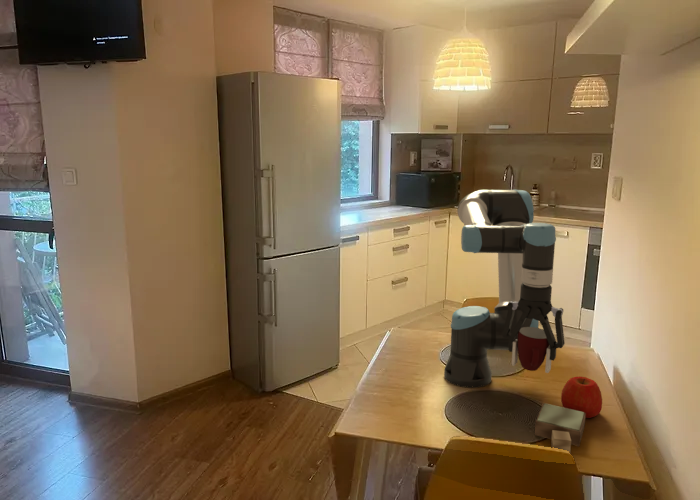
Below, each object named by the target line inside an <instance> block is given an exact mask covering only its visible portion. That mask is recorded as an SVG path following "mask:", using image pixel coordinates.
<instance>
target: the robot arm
mask: <svg viewBox="0 0 700 500" xmlns="http://www.w3.org/2000/svg"><path fill="white" fill-rule="evenodd" d="M534 211H535V210H534V202H533V198H532V196H531V194H530V193H529V192H528V191H527V190H524V189H523V190H522V189H478V190H475V191H472V192H471V193H468V194H467V195H465V196H464V197H463V198H462V199H461V200H460V202H459V204H458V206H457V215H458V216H457V217H458V219H459V220H460V222H461V223H463V227H462V228H461V236H460V241H461V243H460V244H461V245H460V246H461V250H462V251H463V252H465V253H473V254H481V253H482V254H497V261H498V263H497V267H498V268H497V269H498V270H497V271H498V273H497V274H498V303H497V305H496V306H494V310H493V311H494V312H490V310H489V309H488V308H487V307H485V306H479V305H470V306H469V305H468V306H464V307H460V308H458V309H456V310H455V311H454V312H453V313H452V315H451V323H450V328H451V330H450V331H451V332H450V334H451V335H450V353H449V356H448V359H447V362H446V364H445V367H444V374H443V376H444V377H443V378H444V379H445V380H446V381H447V382H448V383H450V384H451V385H455V386H458V387H462V388H471V389H472V388H473V389H474V388H475V389H476V388H482V387H486V386H487V385H489V384H491V382H492V376H493V375H492V368H491V366H490V364H489V359H488V350H493V351H494V350H499V351H509V353H512V354H511V365H512V366H514V367H515V366H516V364H517V363H518V360H519V357H518V342H517V339H518V332H519V331H520V329H521V328H523V327H535V328H539V325H540V324H541V327H542V329H543V330H544V332H545V335H546V338H547V340H548V343H549V347H548V348H547V354H546V356H545V373H546V374H549V373H550V371H551V369H552V361H555V360H556V358H557V349H562V348H563V347H564V346H565V334H564V325H563V313H564V309H563V308H562V307H560V308H558V307H554V306H553V304H552V288H553V287H552V284H553V279H554V277H553V275H554V274H553V273H554V259H555V247H556V246H555V245H556V241H557V238H556V227H555V226H554V224H551V223H546V222H533V221H534V216H535V214H534V213H535V212H534ZM549 313H552V316H553V317H554V325H555V335H556V337H555V335H554V332H553V330H552V326H551V324H550V321H549V316H548V315H549Z"/></svg>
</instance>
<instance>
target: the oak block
mask: <svg viewBox="0 0 700 500" xmlns="http://www.w3.org/2000/svg"><path fill="white" fill-rule="evenodd" d="M550 441H551V442H550V444H551V445H550V446H551V448H552V447H554V448H558V449H563V450H567V451H569V452H570V453H571V447H572V445H571V438H570V434H569V432H564V431H556V430H552V439H550Z"/></svg>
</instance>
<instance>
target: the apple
mask: <svg viewBox="0 0 700 500" xmlns="http://www.w3.org/2000/svg"><path fill="white" fill-rule="evenodd" d="M560 397H561V398H560V401H561V404H562V407H564V408H568V409H572V410H577V411H581V412H584V413H586V416H585V419H591V418H594V417H596V416H598V415H599V414H600V413H601V411H602V408H603V397H602V391H601V389H600V386H599V385H598V383H597V382H596V381H595V380H593V379H591V378H589V377H586V376H574V377H571V378H569V380H568V381H567V382H566V383H565V384H564V386H563V388H562V390H561V395H560Z"/></svg>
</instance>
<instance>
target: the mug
mask: <svg viewBox="0 0 700 500" xmlns="http://www.w3.org/2000/svg"><path fill="white" fill-rule="evenodd" d="M517 342H518V360H519V362H520V365H521V367H522V368H523V369H524V370H527V371H529V372H530V371H531V372H534V371H537V370H538V369H540V367H541V366H542V365H543V363H544V362H545V360H546V354H547V348H548V347H549V343H548V340H547V338H546V335H545V332H544V330H543V328H541V327H540V328H539V327H538V328H535V327H523V328H521V329H520V331H519V332H518V339H517Z"/></svg>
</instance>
